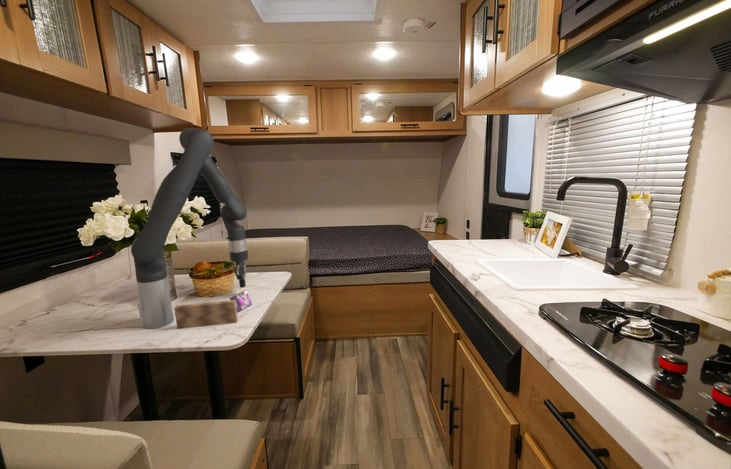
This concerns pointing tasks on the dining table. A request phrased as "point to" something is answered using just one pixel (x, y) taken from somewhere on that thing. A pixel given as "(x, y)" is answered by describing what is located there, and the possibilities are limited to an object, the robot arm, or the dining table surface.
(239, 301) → the purple crystal
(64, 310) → the dining table surface
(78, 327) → the dining table surface
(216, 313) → the walnut board
